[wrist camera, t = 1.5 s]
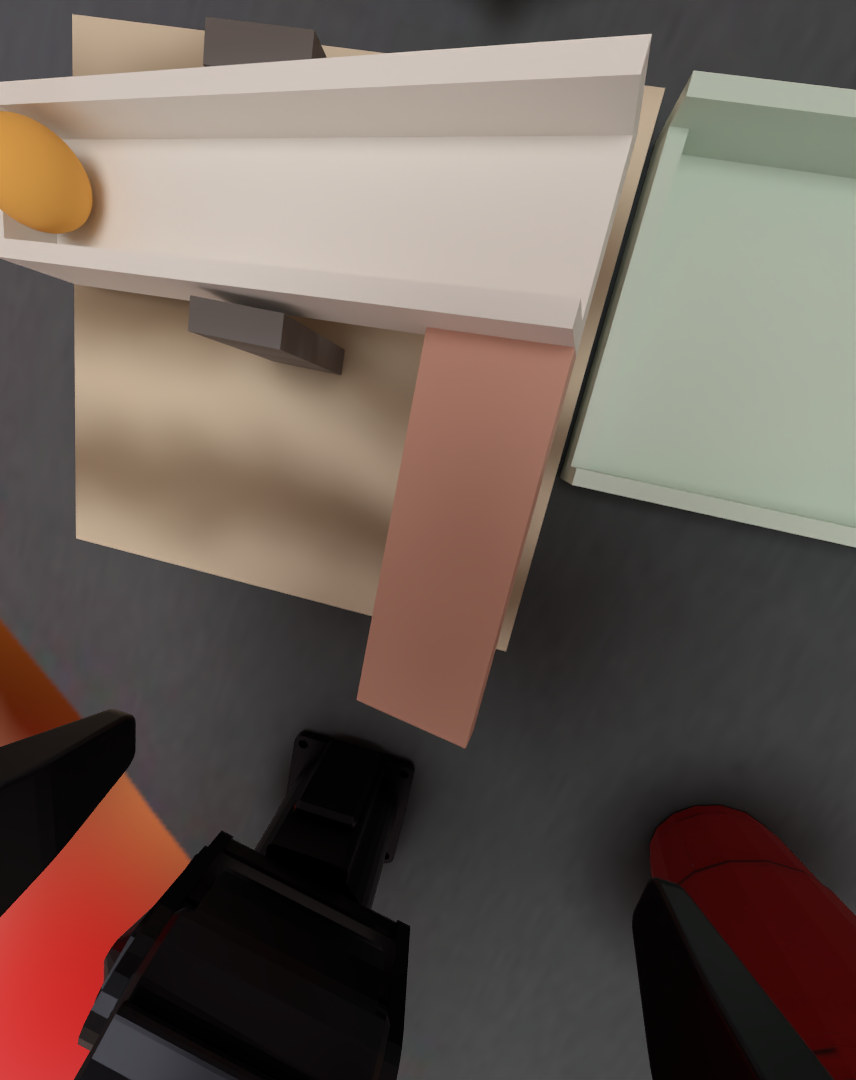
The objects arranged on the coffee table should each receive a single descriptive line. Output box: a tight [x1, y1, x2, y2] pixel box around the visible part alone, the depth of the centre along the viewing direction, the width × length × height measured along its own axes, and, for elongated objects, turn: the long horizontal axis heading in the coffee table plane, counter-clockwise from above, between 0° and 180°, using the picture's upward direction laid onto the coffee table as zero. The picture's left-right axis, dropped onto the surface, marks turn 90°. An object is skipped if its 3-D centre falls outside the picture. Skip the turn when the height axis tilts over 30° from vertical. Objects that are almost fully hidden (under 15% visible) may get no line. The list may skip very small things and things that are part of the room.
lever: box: [0, 34, 652, 749], centre depth 14 cm, size 17×20×3 cm
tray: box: [560, 71, 856, 547], centre depth 14 cm, size 12×14×4 cm
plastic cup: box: [650, 805, 856, 1080], centre depth 15 cm, size 11×11×12 cm
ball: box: [0, 111, 93, 234], centre depth 14 cm, size 3×3×3 cm
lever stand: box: [72, 14, 665, 651], centre depth 16 cm, size 21×22×6 cm
